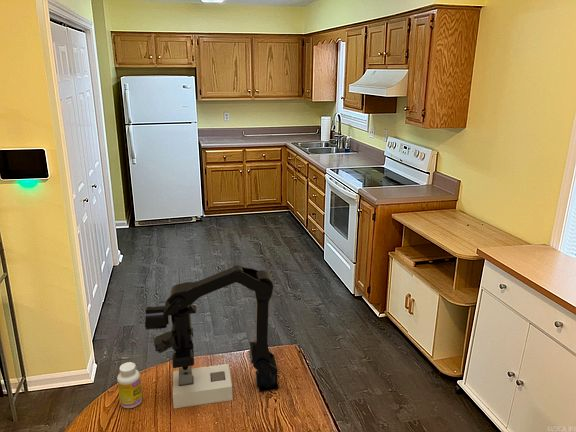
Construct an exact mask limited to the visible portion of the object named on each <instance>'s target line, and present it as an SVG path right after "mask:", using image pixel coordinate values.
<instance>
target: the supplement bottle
mask: <svg viewBox="0 0 576 432" xmlns="http://www.w3.org/2000/svg"><path fill="white" fill-rule="evenodd" d="M116 380H117V388H118V397H119V403H120V404H119V405H120V406H121V407H122V408H125V409H132V408H136V407H137V406H139V405H140V404H141V403H142V401H143V392H142V391H143V390H142V383H141V374H140V371H139V370H137V366H136V363H134V362H131V361H129V362H128V361H127V362H124V363H122V364H121V365H120V366H119V373H118V375H117V378H116Z"/></svg>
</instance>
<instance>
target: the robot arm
mask: <svg viewBox="0 0 576 432" xmlns="http://www.w3.org/2000/svg"><path fill="white" fill-rule="evenodd" d="M235 283H237V284H240V285H242V286H244V287H245V288H247V289H248V290H250V291H253V292H254V296H255V325H254V327H255V330H254V331H255V333H254V335H255V336H254V340H253V341H249V342H248V343H249V350H248V353H249V355H248V356H249V359H250V364H251V365H252V366H253V369H255V370H256V371H255V385H256V387H257V388H258V391H259V392H261V393H262V392H267V391H273V390H274V391H275V390H279V388H280V386H279V383H278V371H279V369H278V366H277V362H276V359H275V358H276V357H275V354H274V353H272V352H271V351H270V349H269V344H268V341H269V340H268V339H269V338H268V334H269V333H268V332H269V305H270V301H271V300H272V299H271V298H272V296H273V291H274V283H273V280H272V276H271V275H270V272H268V271H266V270H258V269H255V268H253V267H246V266H245V267H244V266H242V265H239V264H235V265H233V266H231V267H229V268H227V269H225V270H222V271H220V272H217V273H215V274H212V275H210V276H208V277H205V278H202V279H200V280H198V281H197V280H196V281H194V282H190V281H188V282H187V281H186V282H183V283H182V282H181V283H178V284H175V285H173V286H172V287H171V289H170V292H169V296H168V298H167V299H166V300H165V302H164V303H165V304H164V306H163V305H162V306H161V305H160V306H145V307H146V308H145V309H144V310H145V320H144V326H145V330H146V331H151V330H159V329H161V330H162V329H166V328H168V326H169V325H170V320H171V330H170V331H166V332H164V333H161V334H159V335H157V336H155V338H154V340H153V346H154V349H155V352H157V353H158V354H161V353H164V352H166V351H168V349H169V350H170V348H171V349H172V350H173V351H174V352H173V354H172V358H171V359H172V360H171V362H172V368H173V369H177V368H178V369H179V368H183V370H187V369H188V367H191V366H192V367H193V366H194V365H195V351H194V343H193V338H194V327H192V317H191V315H193V314H196V313H197V306H196V305H195V304H194V303H195V302H196V301H197V300H198V299H200V298H201V297H203V296H206V295H208V294H211V293H213V292H216V291H218V290H220V289H223V288H225V287H226V288H227V287H228V286H230V285H233V284H235ZM170 316H171V319H170Z"/></svg>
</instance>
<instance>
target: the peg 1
mask: <svg viewBox="0 0 576 432" xmlns="http://www.w3.org/2000/svg"><path fill="white" fill-rule="evenodd" d="M192 369H193V366H188V369H187V370H183V367H180V368H178V370H179V385H180V386H185V385H192V384H193V378H192Z"/></svg>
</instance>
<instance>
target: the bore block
mask: <svg viewBox="0 0 576 432" xmlns="http://www.w3.org/2000/svg"><path fill="white" fill-rule="evenodd" d="M217 372H224V379H225V380H221V381H214V382H212V379H211V373H217ZM172 378H173V379H172V402H173V409H179V408H189V407H194V406H200V405H201V406H202V405H207V404H213V403H221V402H229V401H233V400H234V399H233V384H232V383H233V382H232V377H231V371H230V364H229V363H224V364H223V363H222V364H217V365H216V364H215V365H209V366H202V367H195V368H194V367H192V378H193V384H192V385H185V386H180V385H179V369H178V370H173V376H172Z"/></svg>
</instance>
